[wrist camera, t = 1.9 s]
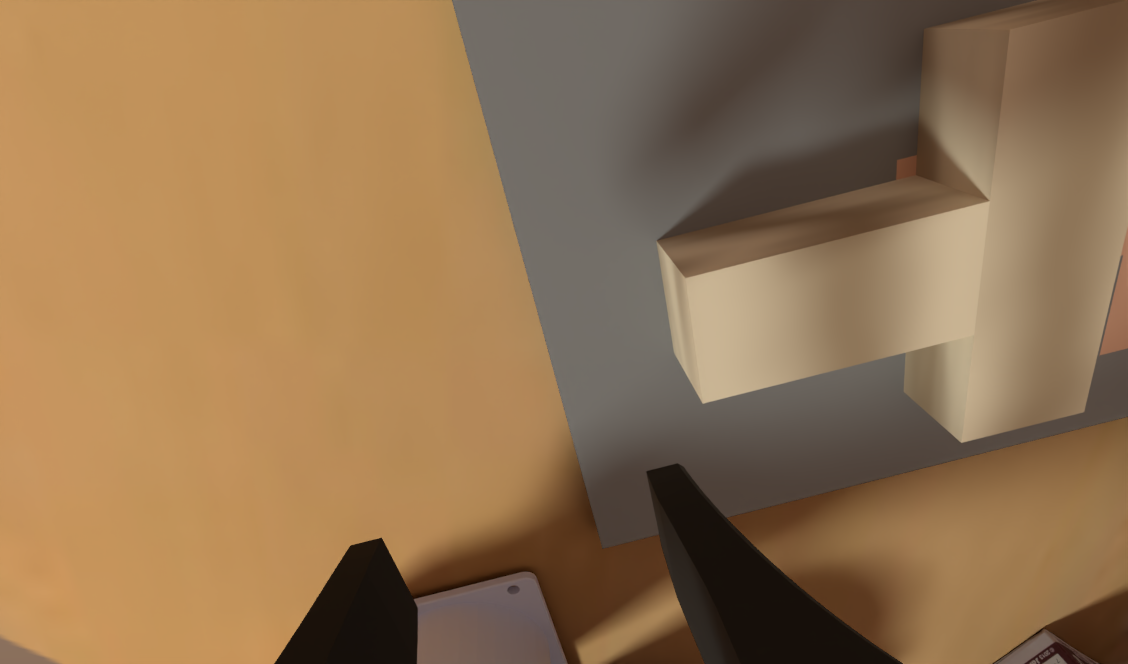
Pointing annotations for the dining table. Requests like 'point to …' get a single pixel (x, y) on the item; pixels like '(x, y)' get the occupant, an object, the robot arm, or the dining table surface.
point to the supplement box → (1045, 652)
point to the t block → (942, 238)
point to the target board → (705, 199)
